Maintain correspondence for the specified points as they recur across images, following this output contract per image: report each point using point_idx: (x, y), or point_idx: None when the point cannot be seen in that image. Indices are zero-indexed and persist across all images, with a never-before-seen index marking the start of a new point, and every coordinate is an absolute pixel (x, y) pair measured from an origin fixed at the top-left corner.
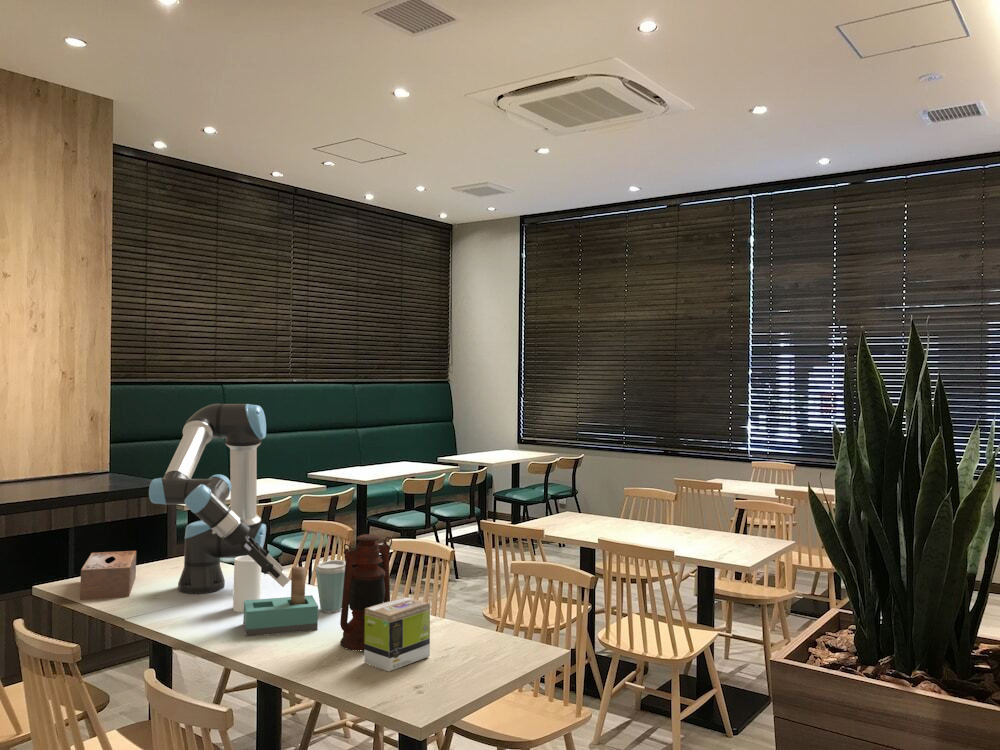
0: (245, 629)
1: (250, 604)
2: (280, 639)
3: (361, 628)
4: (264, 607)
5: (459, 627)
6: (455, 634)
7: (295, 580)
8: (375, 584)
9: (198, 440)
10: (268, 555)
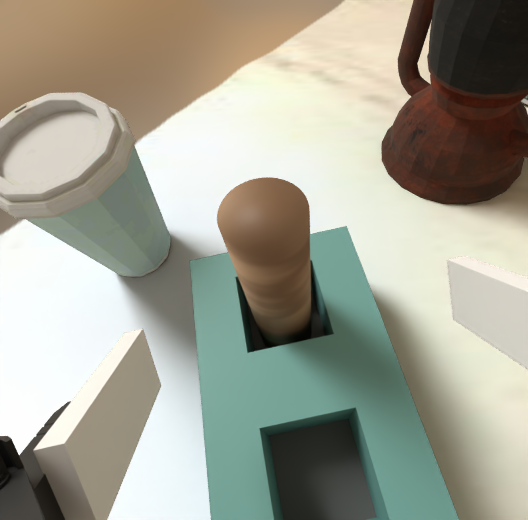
0: None
1: None
2: (451, 382)
3: (524, 113)
4: (375, 460)
5: (325, 28)
6: (370, 30)
7: (308, 260)
8: None
9: None
10: (68, 449)
